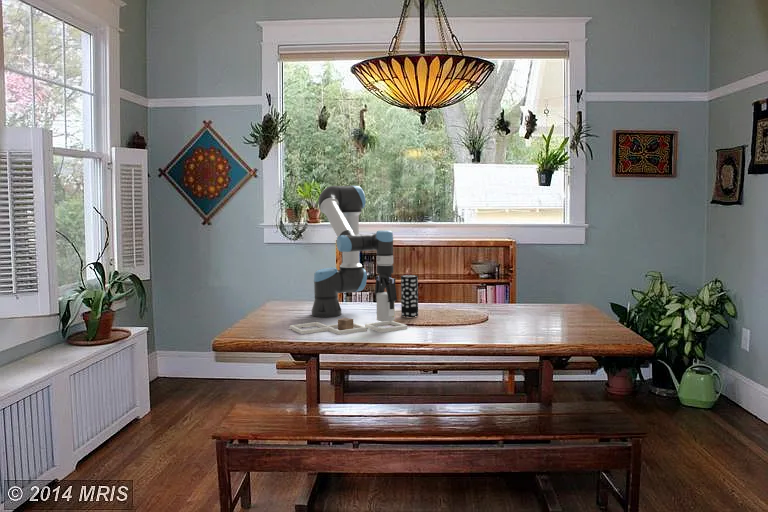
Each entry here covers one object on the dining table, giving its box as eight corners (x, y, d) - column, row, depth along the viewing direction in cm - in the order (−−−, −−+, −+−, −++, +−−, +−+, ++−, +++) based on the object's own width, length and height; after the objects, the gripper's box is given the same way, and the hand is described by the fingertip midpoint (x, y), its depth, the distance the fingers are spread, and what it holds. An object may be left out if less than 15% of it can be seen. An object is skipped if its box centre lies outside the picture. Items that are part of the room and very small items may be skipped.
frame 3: (365, 327, 311) (365, 323, 310) (391, 323, 318) (391, 320, 318) (380, 332, 299) (380, 329, 298) (407, 328, 306) (407, 325, 306)
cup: (392, 321, 303) (392, 294, 302) (375, 321, 304) (374, 294, 303) (396, 318, 311) (395, 292, 310) (378, 317, 312) (378, 291, 311)
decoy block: (337, 330, 305) (337, 319, 305) (345, 328, 309) (345, 317, 308) (346, 331, 302) (345, 320, 301) (353, 329, 306) (353, 318, 305)
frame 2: (324, 329, 308) (324, 325, 308) (352, 325, 315) (352, 322, 315) (339, 334, 296) (338, 331, 296) (366, 330, 303) (366, 327, 303)
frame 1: (289, 328, 310) (289, 325, 310) (317, 325, 317) (317, 321, 317) (302, 334, 298) (302, 330, 298) (330, 330, 305) (330, 327, 305)
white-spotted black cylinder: (420, 315, 337) (419, 275, 335) (415, 318, 330) (415, 277, 328) (404, 314, 340) (403, 274, 338) (399, 317, 332) (398, 277, 330)
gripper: (366, 263, 312) (367, 312, 314) (390, 267, 294) (390, 319, 297) (380, 262, 316) (381, 310, 318) (404, 266, 298) (405, 317, 300)
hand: (385, 314), depth 307 cm, fingers closed on cup, 8 cm apart
